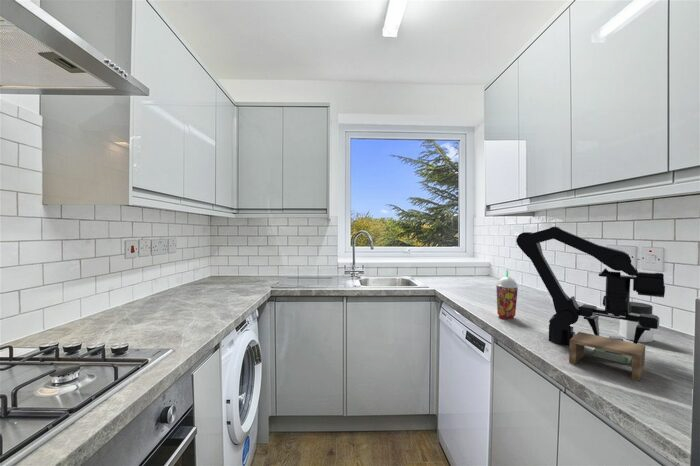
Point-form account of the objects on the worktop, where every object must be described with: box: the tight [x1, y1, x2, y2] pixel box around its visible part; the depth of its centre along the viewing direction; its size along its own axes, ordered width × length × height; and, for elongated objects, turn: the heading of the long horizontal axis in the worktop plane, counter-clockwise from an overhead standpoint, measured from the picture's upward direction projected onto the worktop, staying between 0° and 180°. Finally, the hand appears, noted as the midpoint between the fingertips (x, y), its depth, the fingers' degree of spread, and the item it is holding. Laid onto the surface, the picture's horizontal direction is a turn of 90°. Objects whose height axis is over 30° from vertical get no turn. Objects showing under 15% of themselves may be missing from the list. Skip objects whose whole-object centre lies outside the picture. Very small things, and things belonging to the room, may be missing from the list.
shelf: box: [568, 331, 646, 382], centre depth 92 cm, size 15×10×7 cm, turn 43°
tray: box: [592, 348, 632, 365], centre depth 100 cm, size 8×12×3 cm, turn 133°
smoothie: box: [495, 270, 519, 320], centre depth 142 cm, size 8×8×20 cm
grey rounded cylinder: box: [608, 335, 624, 355], centre depth 102 cm, size 3×3×4 cm
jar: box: [619, 301, 655, 343], centre depth 117 cm, size 9×8×12 cm
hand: (615, 343), depth 102 cm, fingers open, 8 cm apart
